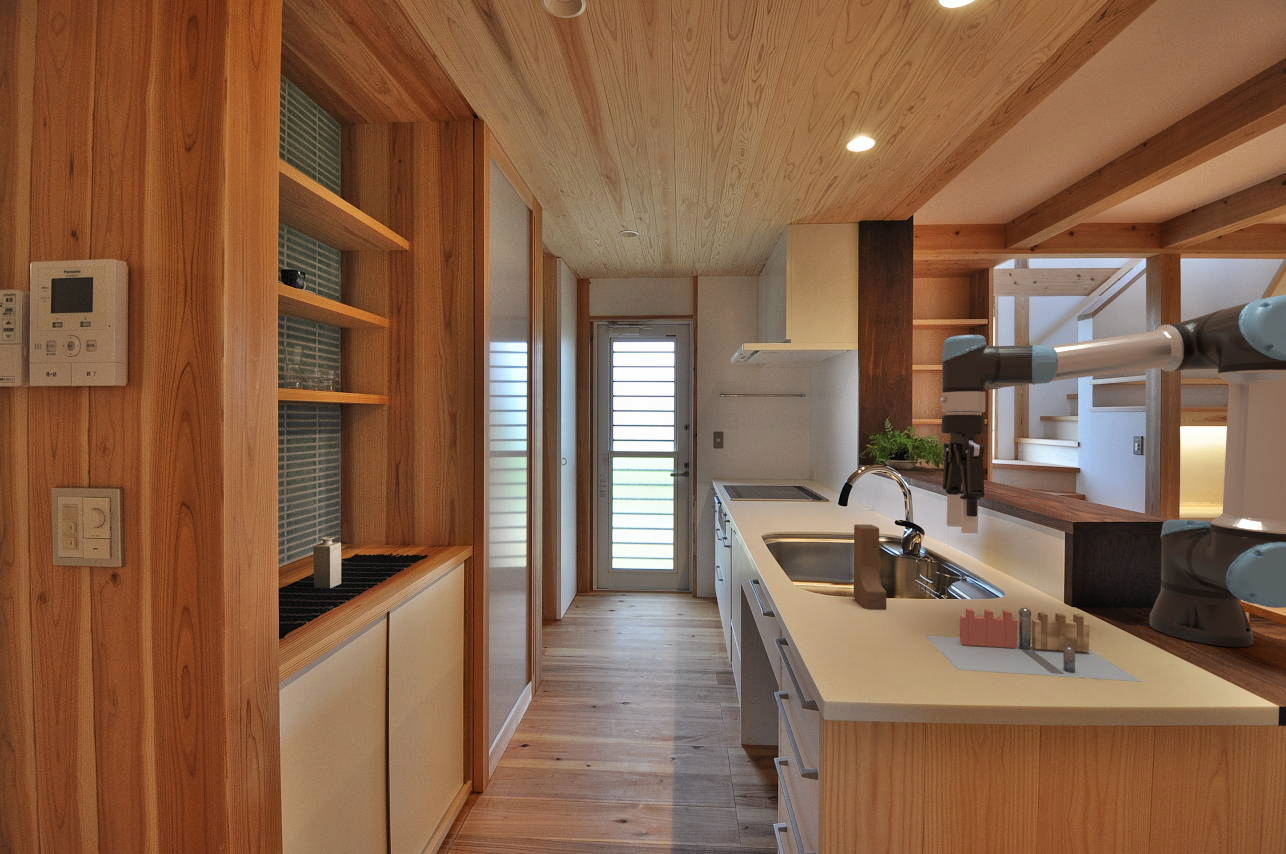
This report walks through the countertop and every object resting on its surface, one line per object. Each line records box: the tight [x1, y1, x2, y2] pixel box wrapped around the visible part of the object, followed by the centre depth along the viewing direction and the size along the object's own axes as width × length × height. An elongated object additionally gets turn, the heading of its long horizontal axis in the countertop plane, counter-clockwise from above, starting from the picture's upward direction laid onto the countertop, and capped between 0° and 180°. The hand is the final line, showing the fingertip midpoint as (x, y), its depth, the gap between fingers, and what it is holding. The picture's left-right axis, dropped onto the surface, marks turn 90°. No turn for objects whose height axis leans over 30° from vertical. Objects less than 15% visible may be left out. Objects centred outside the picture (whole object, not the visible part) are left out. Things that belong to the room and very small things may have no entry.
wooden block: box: [852, 523, 888, 611], centre depth 135 cm, size 9×4×18 cm, turn 179°
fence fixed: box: [1031, 611, 1090, 652], centre depth 107 cm, size 9×1×6 cm, turn 82°
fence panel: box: [959, 607, 1019, 648], centre depth 109 cm, size 10×1×6 cm, turn 82°
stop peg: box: [1063, 645, 1075, 673], centre depth 98 cm, size 2×2×4 cm
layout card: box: [925, 635, 1143, 683], centre depth 104 cm, size 28×16×1 cm, turn 82°
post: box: [1018, 606, 1032, 651], centre depth 108 cm, size 2×2×8 cm
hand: (961, 529), depth 116 cm, fingers open, 7 cm apart
